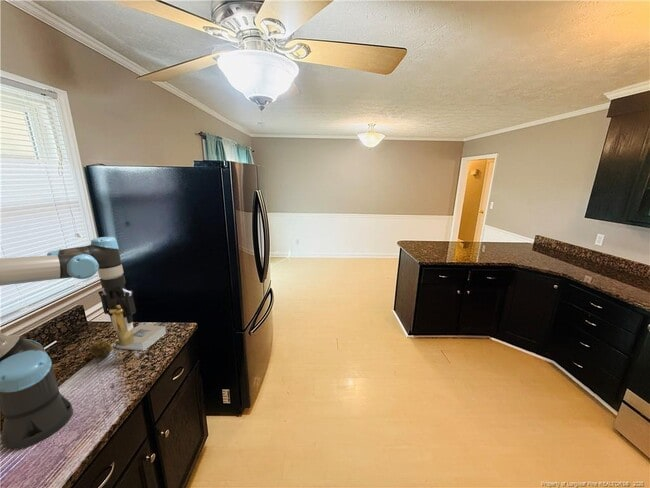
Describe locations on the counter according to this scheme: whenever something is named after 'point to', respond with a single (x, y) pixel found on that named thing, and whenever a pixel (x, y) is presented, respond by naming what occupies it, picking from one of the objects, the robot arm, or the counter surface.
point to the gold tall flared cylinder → (121, 326)
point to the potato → (100, 349)
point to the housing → (143, 337)
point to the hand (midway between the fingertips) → (123, 329)
